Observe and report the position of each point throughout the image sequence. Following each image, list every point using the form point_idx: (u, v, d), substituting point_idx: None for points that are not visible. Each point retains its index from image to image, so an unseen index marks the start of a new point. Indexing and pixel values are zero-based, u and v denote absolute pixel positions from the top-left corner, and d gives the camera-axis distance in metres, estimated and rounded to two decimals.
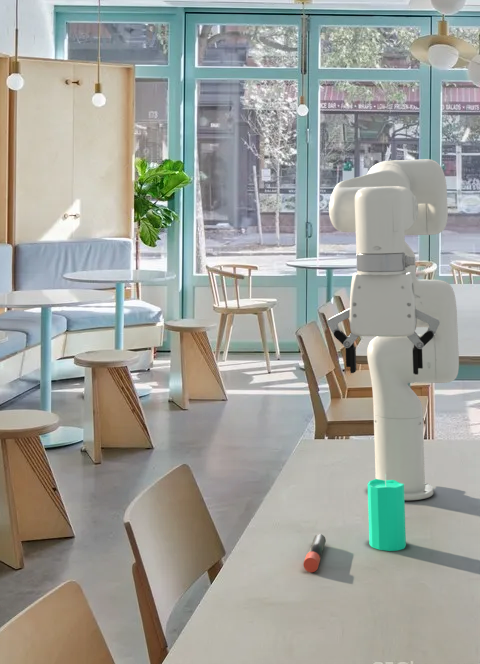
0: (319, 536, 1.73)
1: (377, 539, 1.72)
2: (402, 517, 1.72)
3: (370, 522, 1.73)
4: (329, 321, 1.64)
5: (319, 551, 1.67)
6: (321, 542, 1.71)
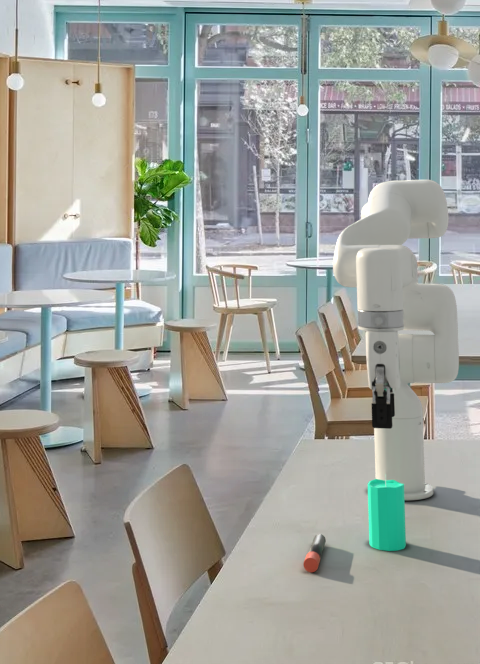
0: (319, 536, 1.73)
1: (377, 539, 1.72)
2: (402, 517, 1.72)
3: (370, 522, 1.73)
4: None
5: (319, 551, 1.67)
6: (321, 542, 1.71)
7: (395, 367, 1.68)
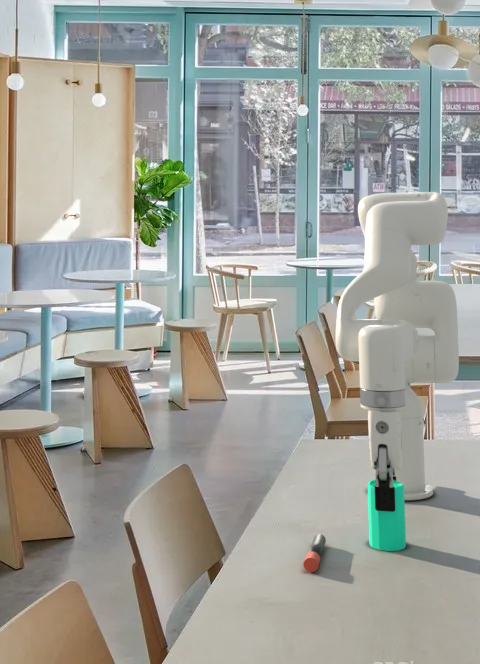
0: (319, 536, 1.73)
1: (377, 539, 1.72)
2: (402, 517, 1.72)
3: (370, 522, 1.73)
4: None
5: (319, 551, 1.67)
6: (321, 542, 1.71)
7: (397, 447, 1.68)
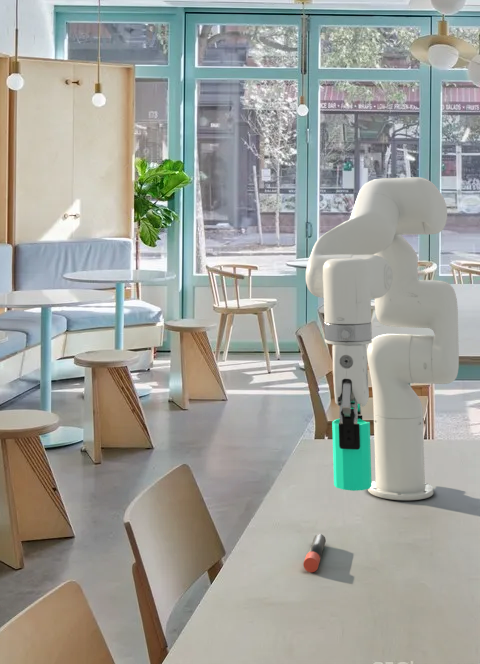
0: (319, 536, 1.73)
1: (341, 479, 1.65)
2: (367, 456, 1.65)
3: (334, 462, 1.67)
4: None
5: (319, 551, 1.67)
6: (321, 542, 1.71)
7: (362, 382, 1.62)
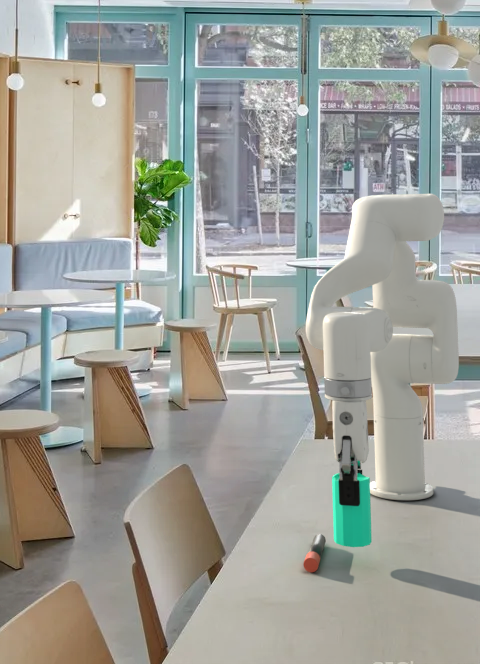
0: (319, 536, 1.73)
1: (341, 535, 1.65)
2: (367, 512, 1.65)
3: (334, 517, 1.66)
4: None
5: (319, 551, 1.67)
6: (321, 542, 1.71)
7: (362, 439, 1.61)
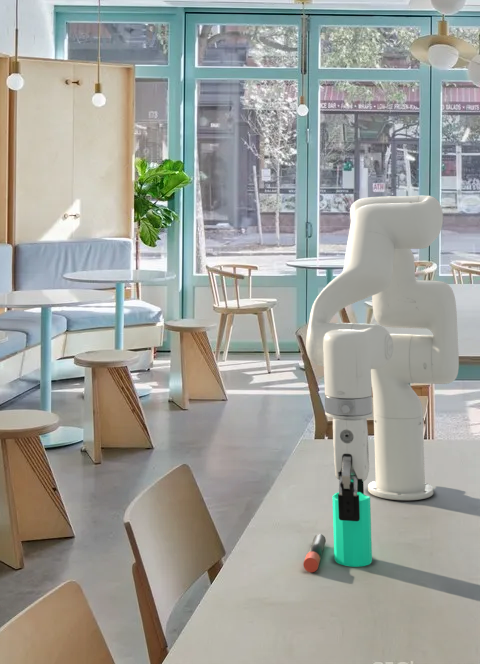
0: (319, 536, 1.73)
1: (342, 554, 1.65)
2: (368, 531, 1.65)
3: (335, 536, 1.66)
4: None
5: (319, 551, 1.67)
6: (321, 542, 1.71)
7: (362, 457, 1.61)
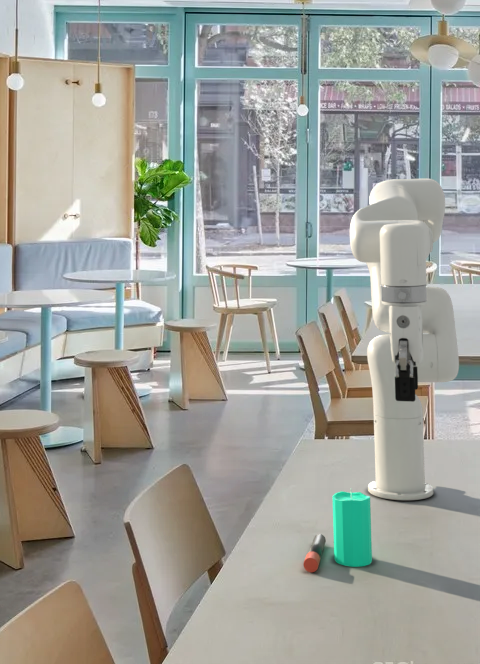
0: (319, 536, 1.73)
1: (342, 554, 1.65)
2: (368, 531, 1.65)
3: (335, 536, 1.66)
4: None
5: (319, 551, 1.67)
6: (321, 542, 1.71)
7: (418, 341, 1.70)
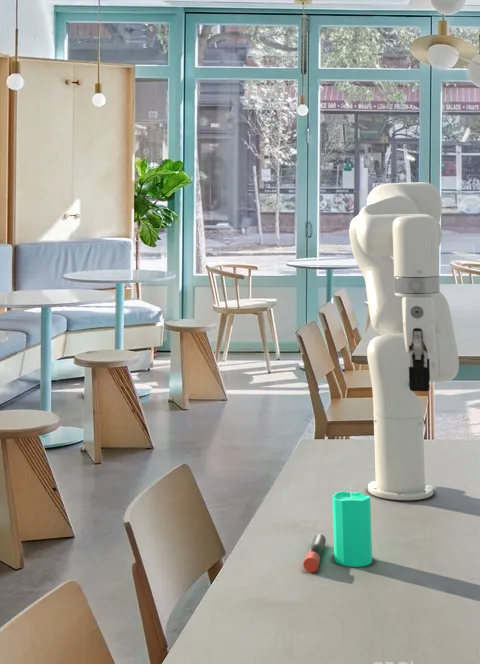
0: (319, 536, 1.73)
1: (342, 554, 1.65)
2: (368, 531, 1.65)
3: (335, 536, 1.66)
4: None
5: (319, 551, 1.67)
6: (321, 542, 1.71)
7: (432, 331, 1.72)
